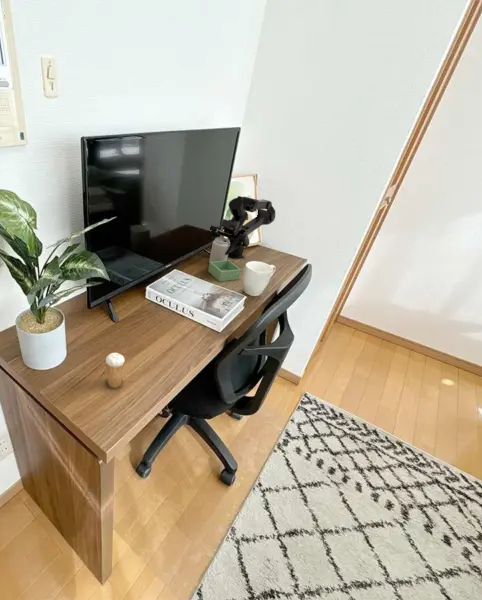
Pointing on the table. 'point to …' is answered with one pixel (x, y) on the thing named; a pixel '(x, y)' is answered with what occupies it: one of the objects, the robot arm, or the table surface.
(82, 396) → the table surface
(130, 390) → the table surface
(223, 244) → the can
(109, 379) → the milkshake
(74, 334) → the table surface
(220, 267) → the bin
